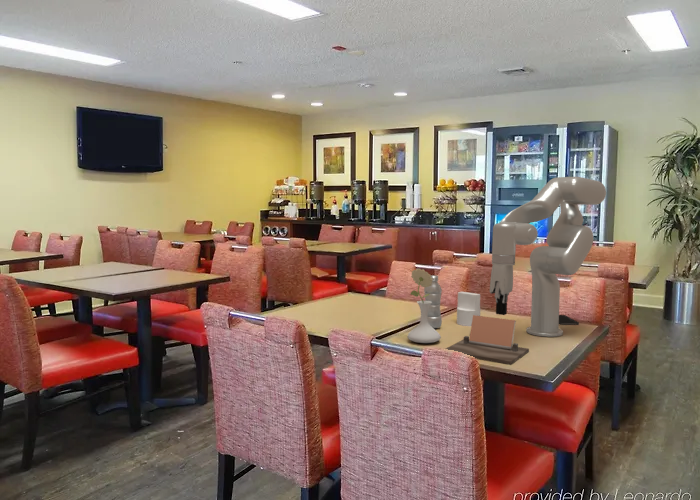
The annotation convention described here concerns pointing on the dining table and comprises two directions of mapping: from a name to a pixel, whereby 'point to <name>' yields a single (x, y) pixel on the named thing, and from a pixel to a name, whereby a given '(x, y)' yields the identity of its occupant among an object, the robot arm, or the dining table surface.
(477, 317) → the tile
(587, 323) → the dining table surface
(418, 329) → the flower in vase
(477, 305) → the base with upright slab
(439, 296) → the plastic bottle
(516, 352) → the board
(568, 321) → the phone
